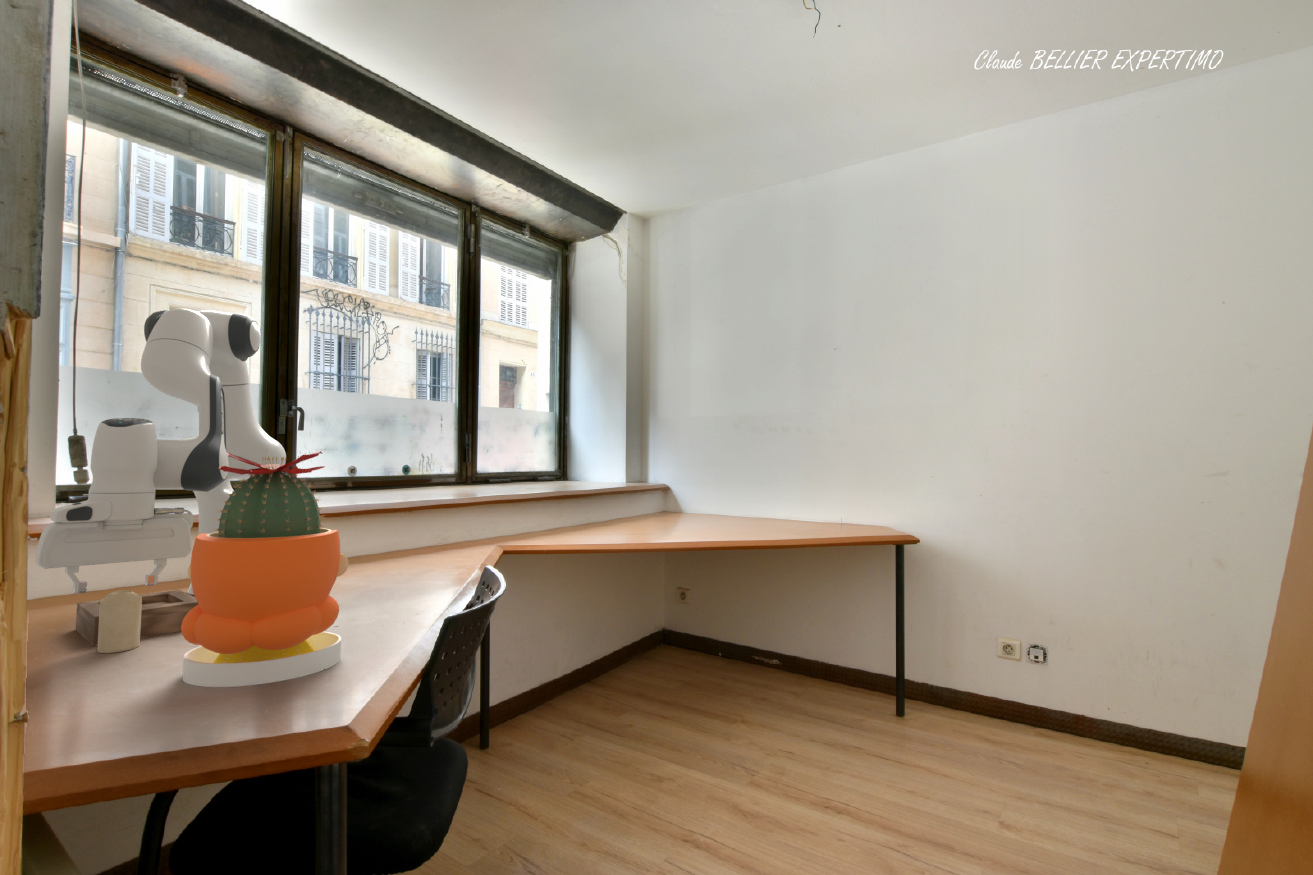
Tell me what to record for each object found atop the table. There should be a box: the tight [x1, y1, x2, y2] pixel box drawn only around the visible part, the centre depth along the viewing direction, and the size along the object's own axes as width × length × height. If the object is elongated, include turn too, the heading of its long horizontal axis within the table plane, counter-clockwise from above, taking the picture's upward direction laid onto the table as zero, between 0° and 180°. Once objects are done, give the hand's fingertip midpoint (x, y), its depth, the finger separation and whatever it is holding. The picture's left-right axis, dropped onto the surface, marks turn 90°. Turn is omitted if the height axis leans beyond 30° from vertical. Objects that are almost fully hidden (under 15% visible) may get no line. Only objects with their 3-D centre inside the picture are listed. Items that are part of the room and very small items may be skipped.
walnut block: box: [75, 589, 199, 647], centre depth 117 cm, size 16×16×6 cm
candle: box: [96, 589, 142, 654], centre depth 105 cm, size 6×6×10 cm
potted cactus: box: [180, 451, 349, 688], centre depth 95 cm, size 22×22×35 cm
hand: (116, 588), depth 104 cm, fingers open, 8 cm apart
